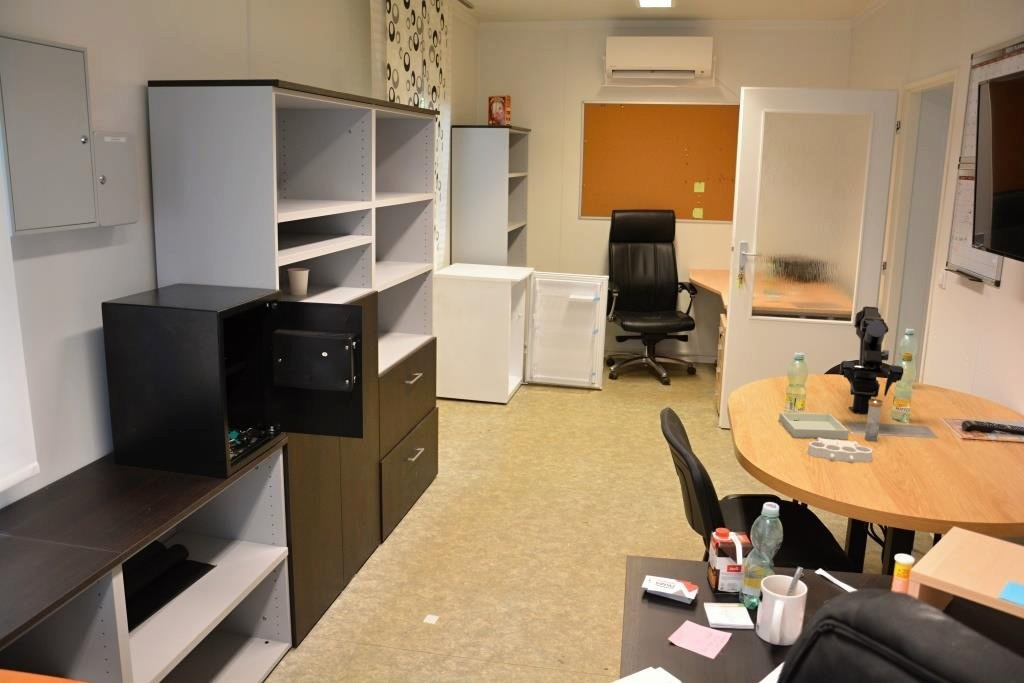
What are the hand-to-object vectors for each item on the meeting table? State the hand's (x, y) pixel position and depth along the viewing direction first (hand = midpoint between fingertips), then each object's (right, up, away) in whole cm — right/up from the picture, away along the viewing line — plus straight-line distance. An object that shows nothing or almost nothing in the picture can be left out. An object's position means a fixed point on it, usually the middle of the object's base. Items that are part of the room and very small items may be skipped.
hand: (869, 393), depth 263 cm
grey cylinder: (-1, -14, -4) cm, 15 cm away
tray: (-17, -12, +5) cm, 21 cm away
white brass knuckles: (-17, -18, -17) cm, 30 cm away
